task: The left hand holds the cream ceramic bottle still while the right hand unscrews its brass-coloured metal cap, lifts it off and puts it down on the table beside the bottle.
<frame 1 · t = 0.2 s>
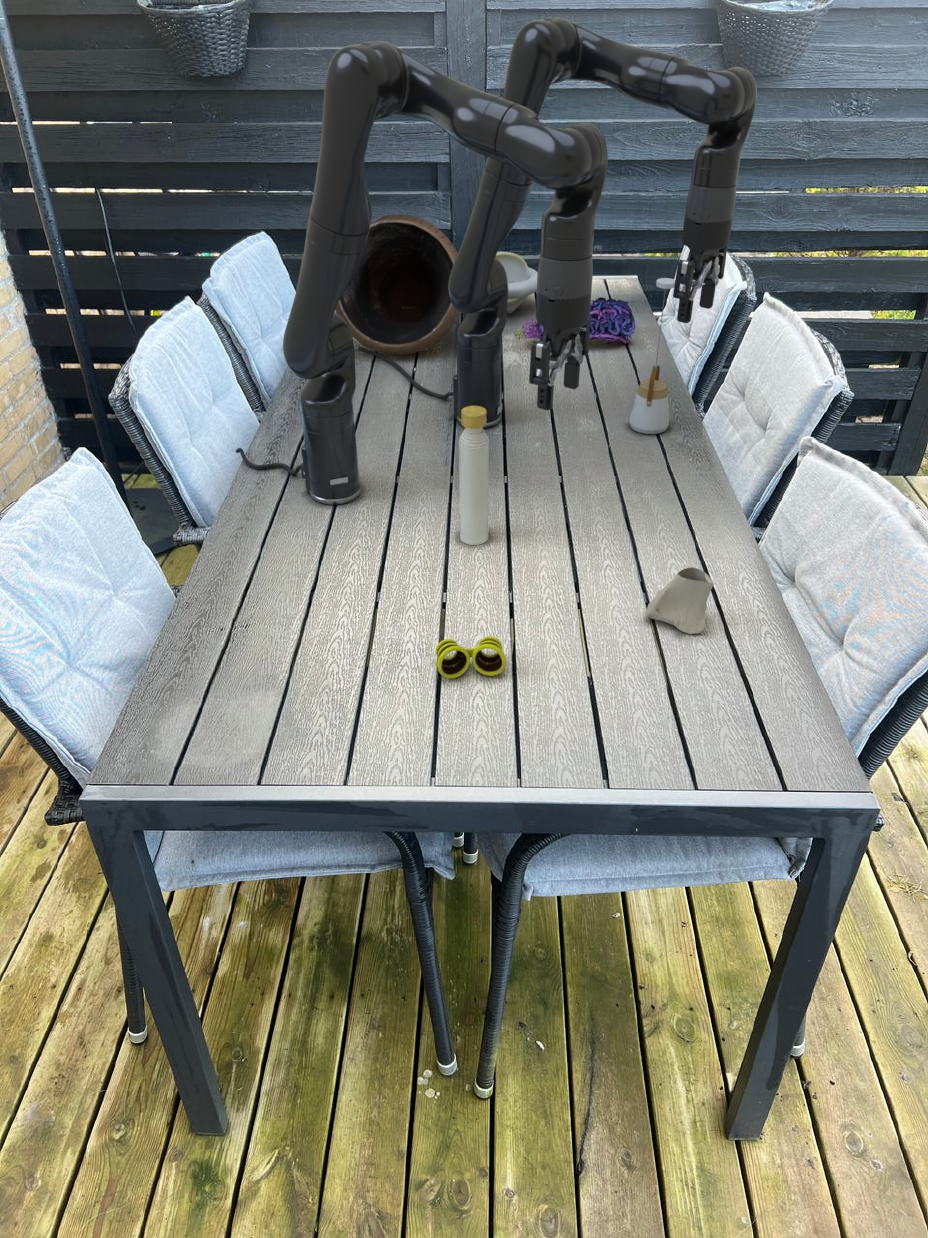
left hand: (558, 397, 138), 29 cm above the table, tool pointing down, fingers open, 8 cm apart
right hand: (694, 314, 158), 32 cm above the table, tool pointing down, fingers open, 8 cm apart
bottle: (474, 537, 162), on the table
cap: (473, 412, 147), point 23 cm above the table, screwed on, not yet turned
decorative ornament: (572, 344, 232), on the table
opera glasses: (470, 668, 134), on the table
grey flared hollow piece: (675, 623, 142), on the table
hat: (500, 309, 253), on the table
pendant light: (648, 426, 195), on the table
pot: (404, 338, 236), on the table
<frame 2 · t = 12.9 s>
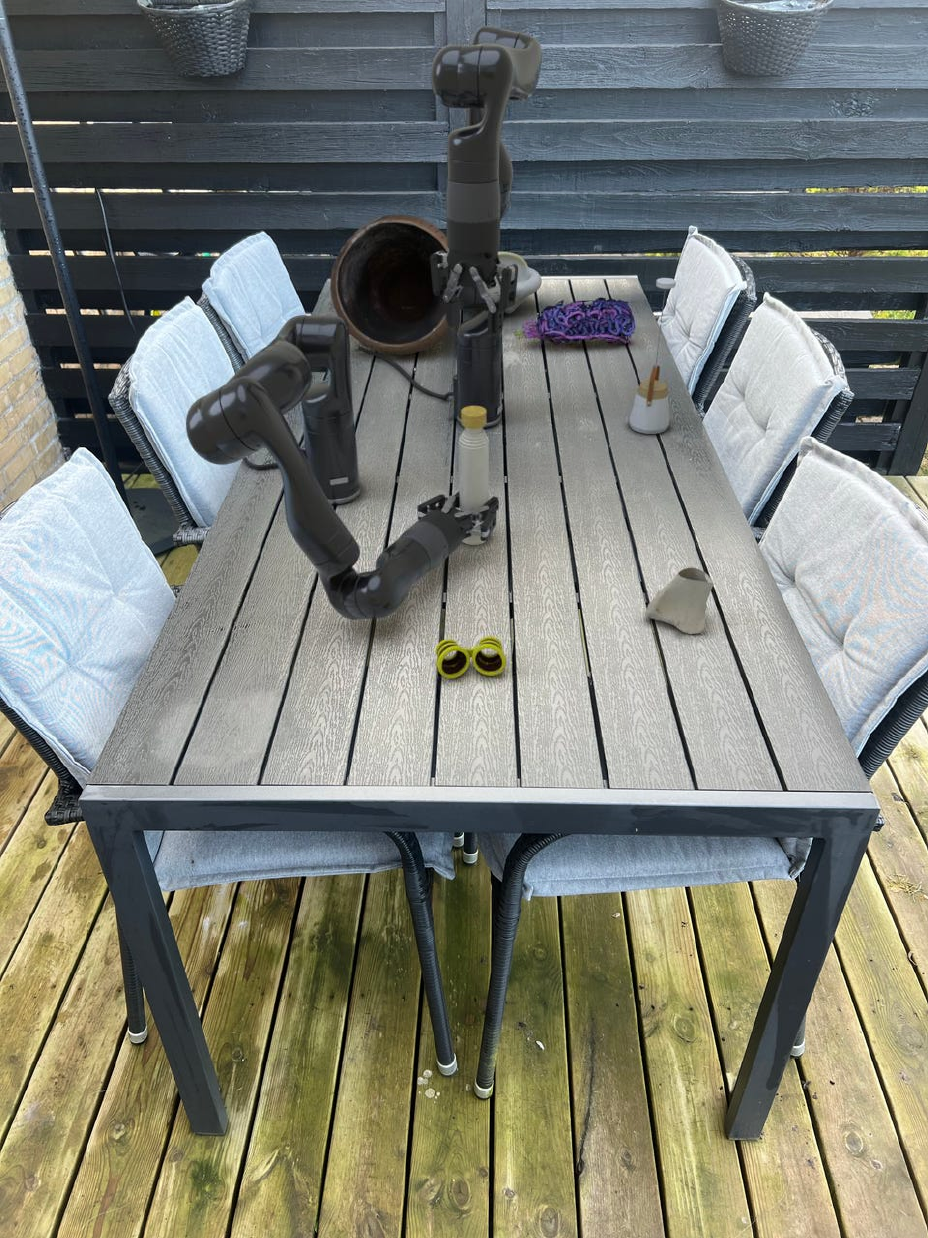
left hand: (481, 497, 159), 7 cm above the table, tool horizontal, fingers closed on bottle, 5 cm apart
right hand: (473, 329, 139), 37 cm above the table, tool pointing down, fingers open, 6 cm apart
bottle: (474, 537, 162), on the table, touching left hand
everything else where it was.
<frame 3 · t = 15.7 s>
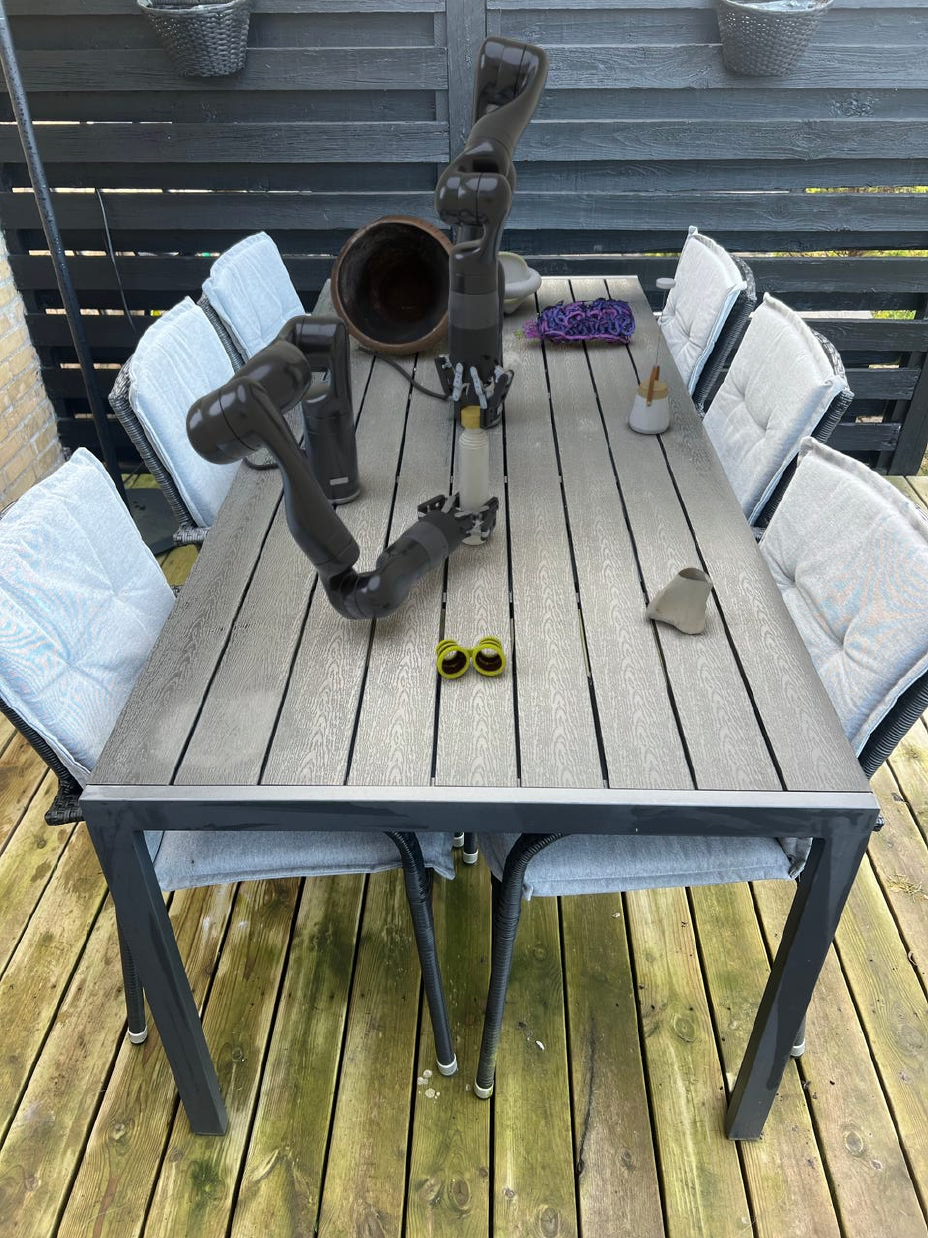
left hand: (481, 497, 159), 7 cm above the table, tool horizontal, fingers closed on bottle, 5 cm apart
right hand: (473, 423, 149), 21 cm above the table, tool pointing down, fingers closed on cap, 3 cm apart
bottle: (474, 537, 162), on the table, touching left hand
cap: (473, 412, 147), point 23 cm above the table, screwed on, not yet turned, touching right hand
everything else where it was.
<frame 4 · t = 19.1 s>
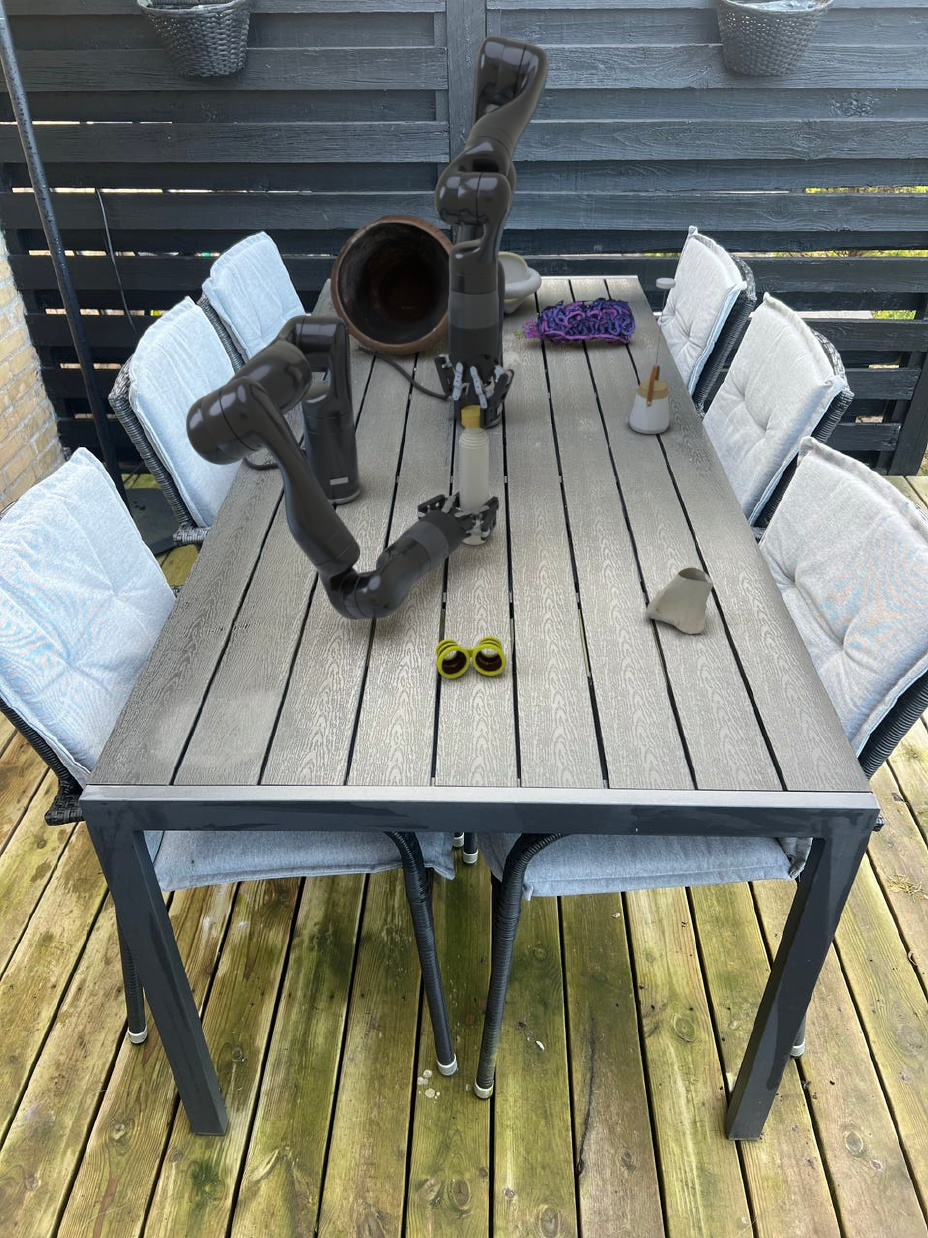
left hand: (481, 497, 159), 7 cm above the table, tool horizontal, fingers closed on bottle, 5 cm apart
right hand: (473, 423, 149), 22 cm above the table, tool pointing down, fingers closed on cap, 4 cm apart
bottle: (474, 537, 162), on the table, touching left hand
cap: (473, 412, 147), point 23 cm above the table, turned 78° so far, risen 0.1 cm, still on its thread, touching right hand
everything else where it was.
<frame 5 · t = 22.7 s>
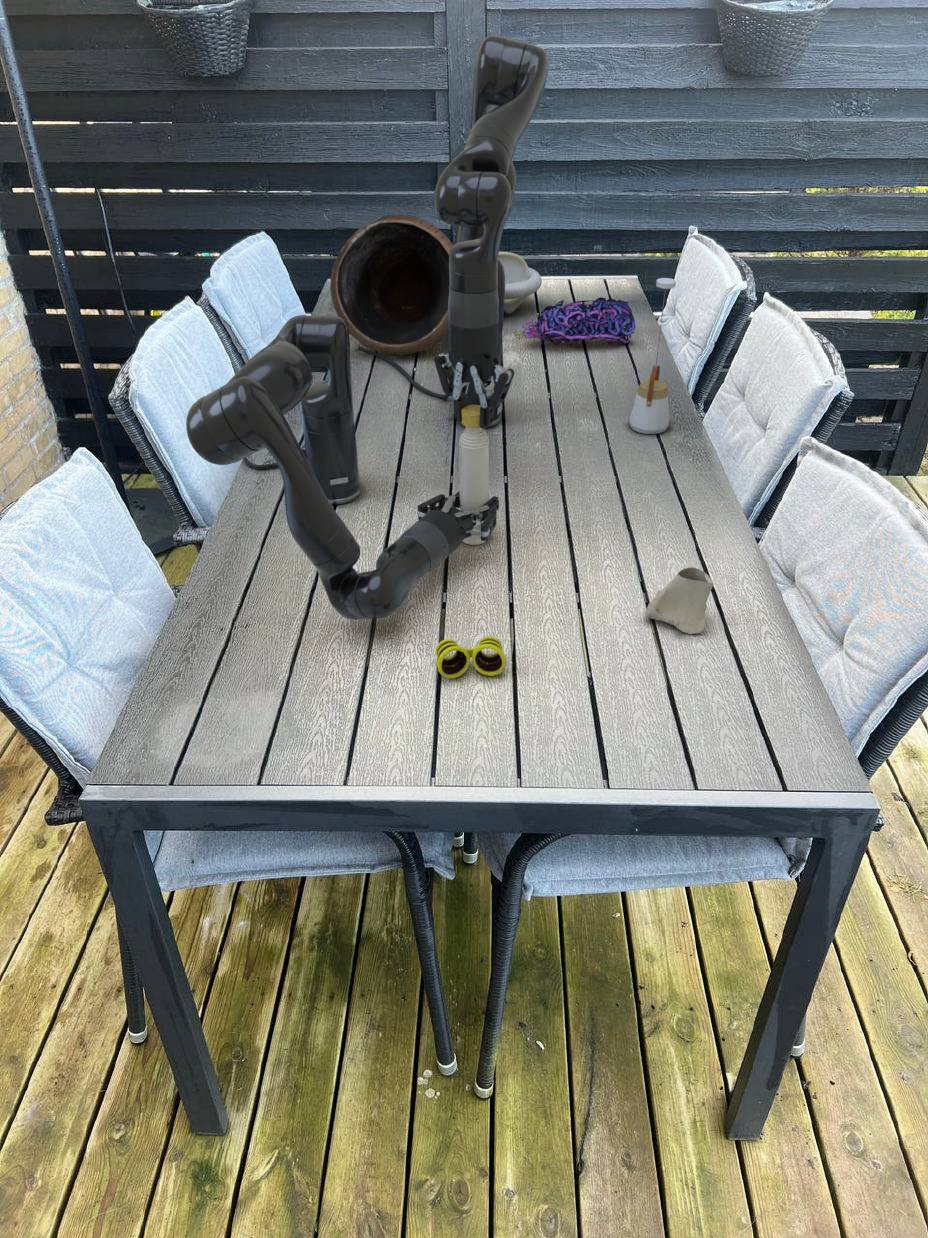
left hand: (482, 497, 159), 7 cm above the table, tool horizontal, fingers closed on bottle, 5 cm apart
right hand: (473, 422, 148), 22 cm above the table, tool pointing down, fingers closed on cap, 4 cm apart
bottle: (474, 537, 162), on the table, touching left hand
cap: (474, 411, 147), point 24 cm above the table, turned 156° so far, risen 0.1 cm, still on its thread, touching right hand
everything else where it was.
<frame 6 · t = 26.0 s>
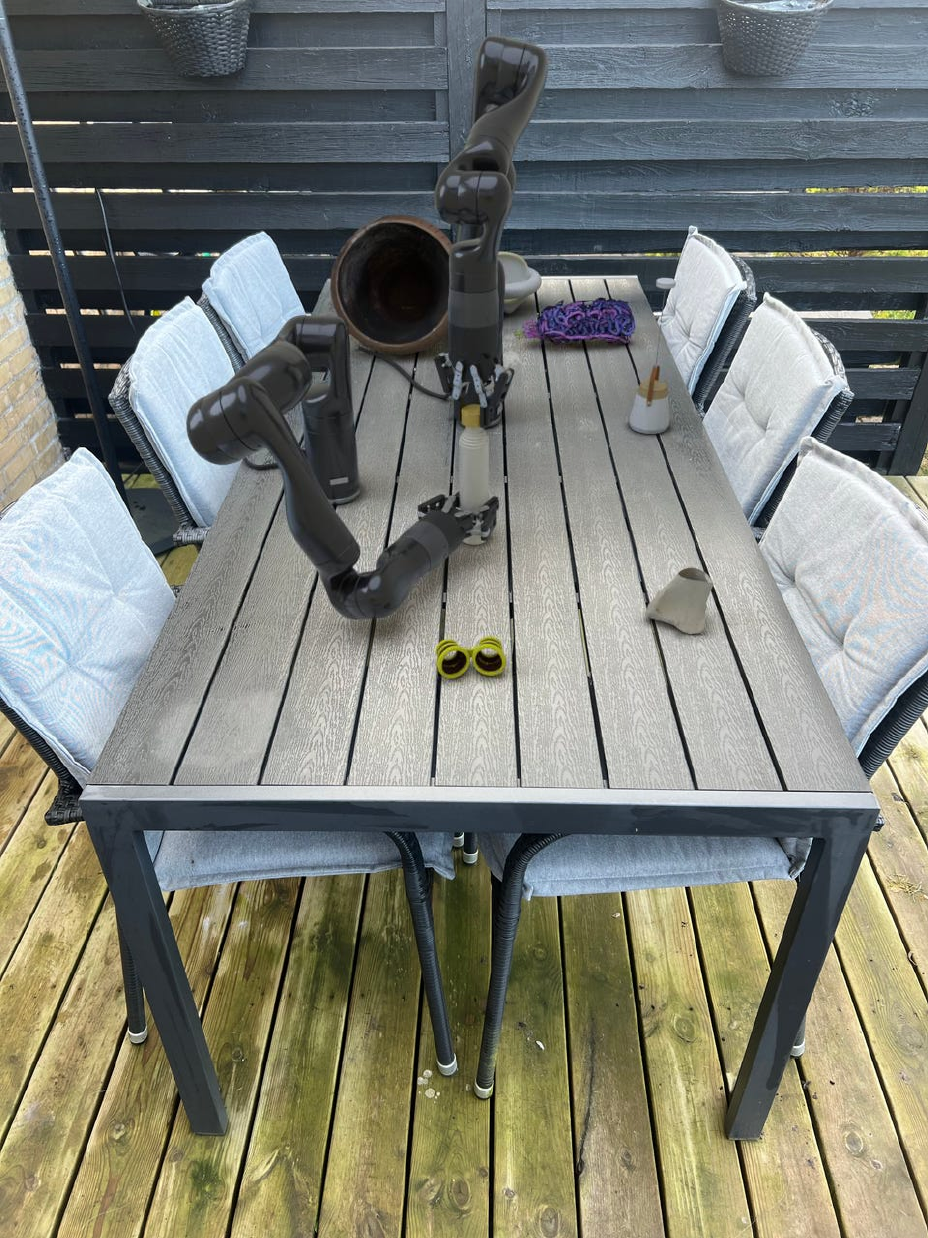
left hand: (482, 497, 159), 7 cm above the table, tool horizontal, fingers closed on bottle, 5 cm apart
right hand: (473, 422, 148), 22 cm above the table, tool pointing down, fingers closed on cap, 4 cm apart
bottle: (474, 537, 162), on the table, touching left hand
cap: (474, 411, 147), point 24 cm above the table, turned 234° so far, risen 0.2 cm, still on its thread, touching right hand
everything else where it was.
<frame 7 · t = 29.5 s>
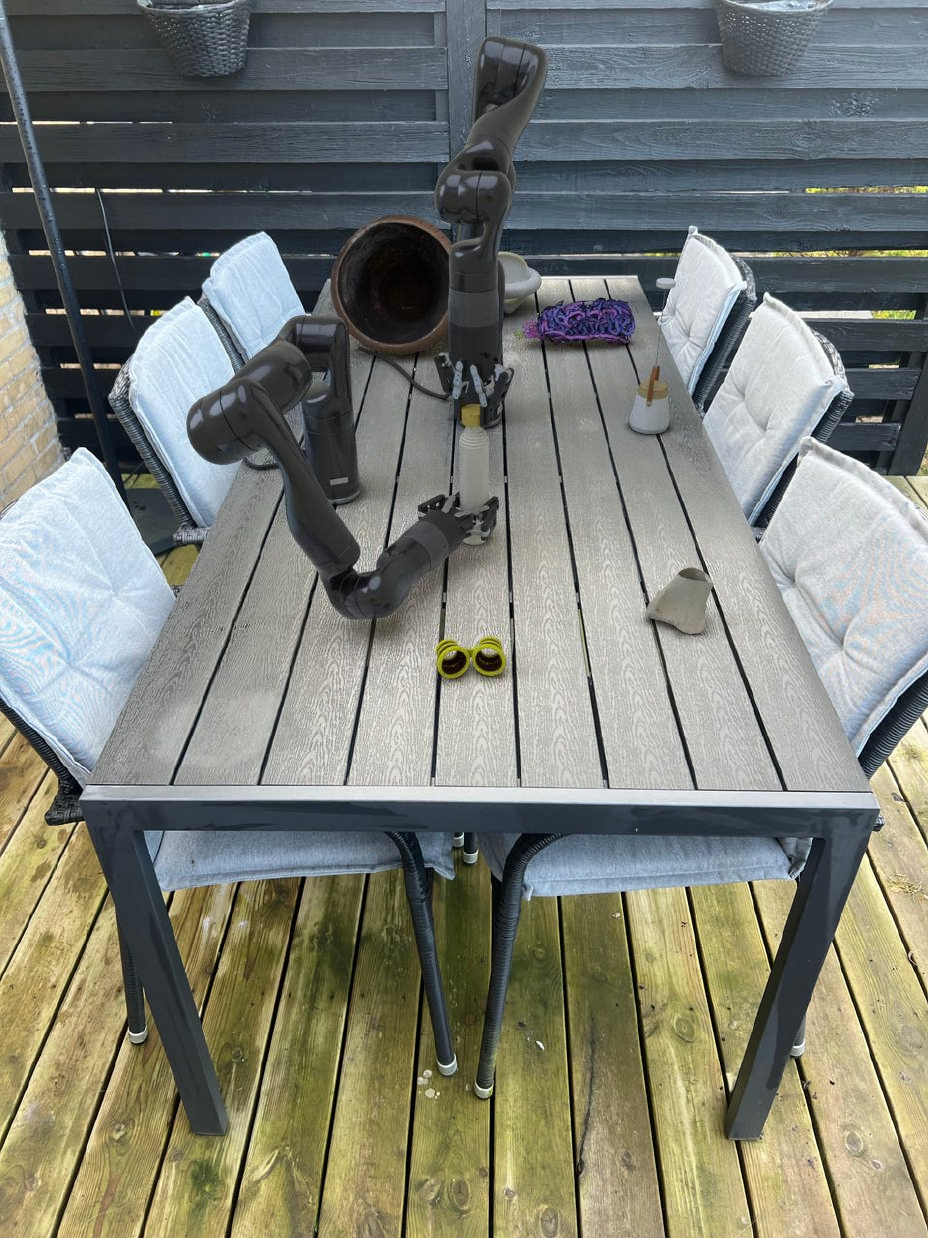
left hand: (482, 497, 159), 7 cm above the table, tool horizontal, fingers closed on bottle, 5 cm apart
right hand: (473, 422, 148), 22 cm above the table, tool pointing down, fingers closed on cap, 4 cm apart
bottle: (474, 537, 162), on the table, touching left hand
cap: (474, 410, 147), point 24 cm above the table, turned 312° so far, risen 0.3 cm, still on its thread, touching right hand
everything else where it was.
when the right hand's fingers open (2 cm above the table, at t = 41.6 s): cap drops 2 cm, point 2 cm above the table.
when the left hand's fingers open (7 cm above the table, at t = 42.8 s): bottle stays where it is, on the table.
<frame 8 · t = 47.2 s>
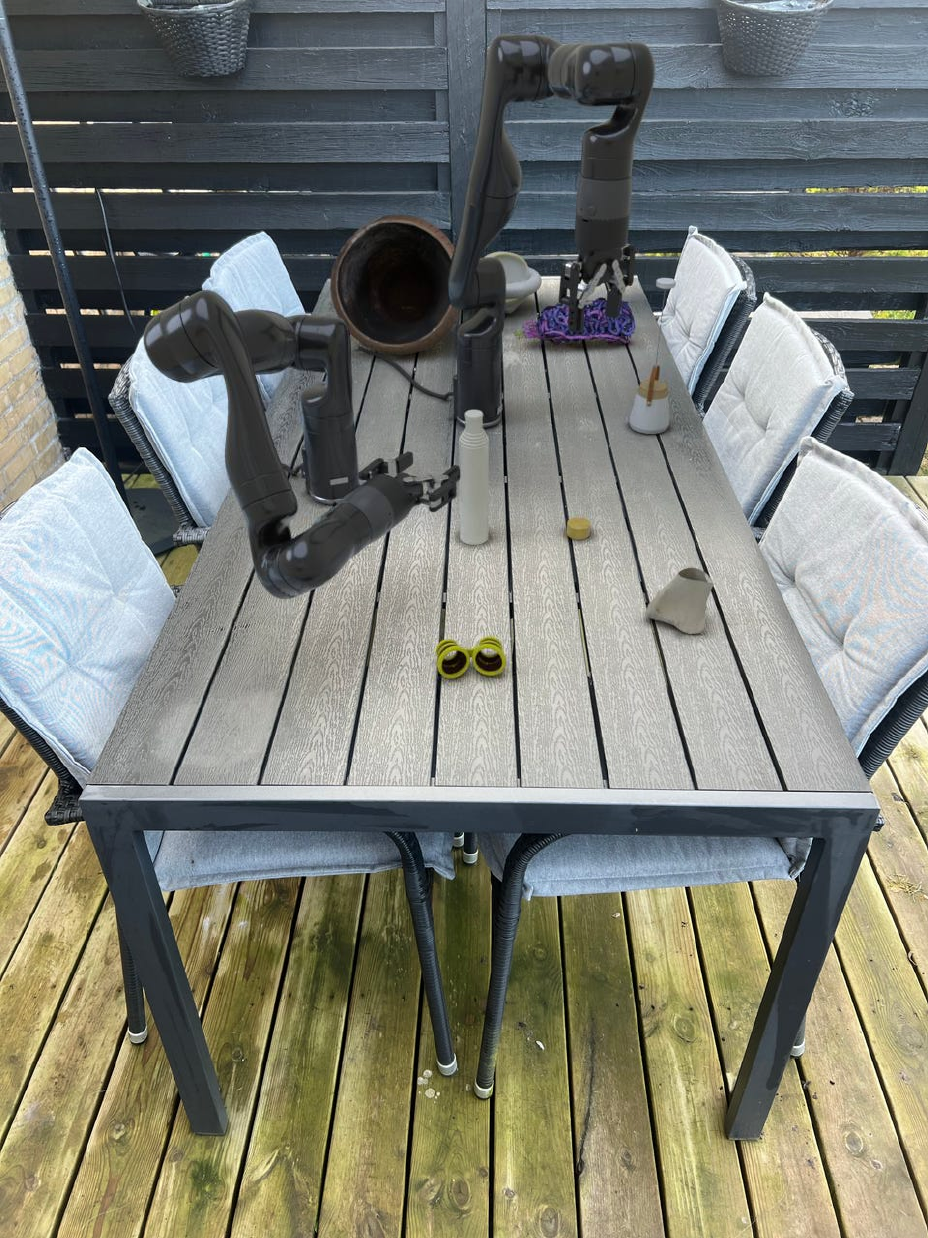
left hand: (434, 463, 142), 20 cm above the table, tool horizontal, fingers open, 8 cm apart
right hand: (594, 324, 140), 37 cm above the table, tool pointing down, fingers open, 8 cm apart
bottle: (474, 537, 162), on the table
cap: (578, 524, 161), point 2 cm above the table, off its thread
everything else where it was.
at the end: cap came off its thread; cap point 1.9 cm above the table; the left hand is holding nothing; the right hand is holding nothing; bottle tilted 0°; bottle moved 0.0 cm from its start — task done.
